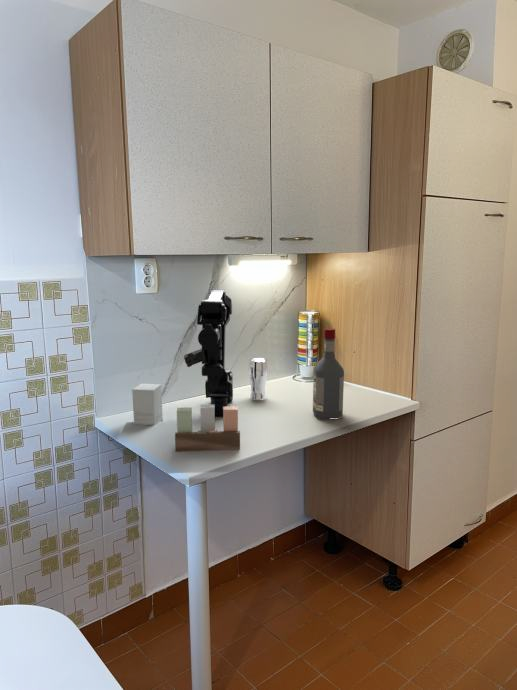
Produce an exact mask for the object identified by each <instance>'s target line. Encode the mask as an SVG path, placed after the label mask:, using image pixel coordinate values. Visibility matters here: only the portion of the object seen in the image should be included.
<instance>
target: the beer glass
mask: <svg viewBox="0 0 517 690" xmlns="http://www.w3.org/2000/svg"><path fill="white" fill-rule="evenodd" d="M248 376H249V383H250V391H251V392H250V397H249V399H250V400H251V401H253V402H254V401H256V402H262V401H266V399H267V396H266V385H267V379H268V360H267V359H266V358H263V357H254V358H250V359H249V363H248Z"/></svg>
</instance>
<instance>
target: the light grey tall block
mask: <svg viewBox="0 0 517 690" xmlns="http://www.w3.org/2000/svg"><path fill="white" fill-rule="evenodd" d="M199 412H200V431H205V430H207V432H209V430H216V428H215V427H216V426H215V425H216V424H215V422H216V419H215V417H216V416H215V405H211V404H200V410H199Z"/></svg>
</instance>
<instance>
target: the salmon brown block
mask: <svg viewBox="0 0 517 690" xmlns="http://www.w3.org/2000/svg"><path fill="white" fill-rule="evenodd" d="M238 412H239V409H238V406H237V405H236V406H234V405H233V406H231V405H230V406H227V407H223V416H222V417H223V431H239V423H238V422H239V413H238Z"/></svg>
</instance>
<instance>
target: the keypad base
mask: <svg viewBox="0 0 517 690" xmlns="http://www.w3.org/2000/svg"><path fill="white" fill-rule="evenodd" d="M174 442H175V444H174V449H175V452H202V451H203V452H204V451H205V452H206V451H232V450H233V451H235V450H236V451H237V450H238V451H239V450H241V431H240V430H238V431H224V430H222V431H221V430H220V431H218V430H217V429H215V430H209V432H207V430H205V431H201V430H197V431H192V432H177V431H176V432H174Z"/></svg>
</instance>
